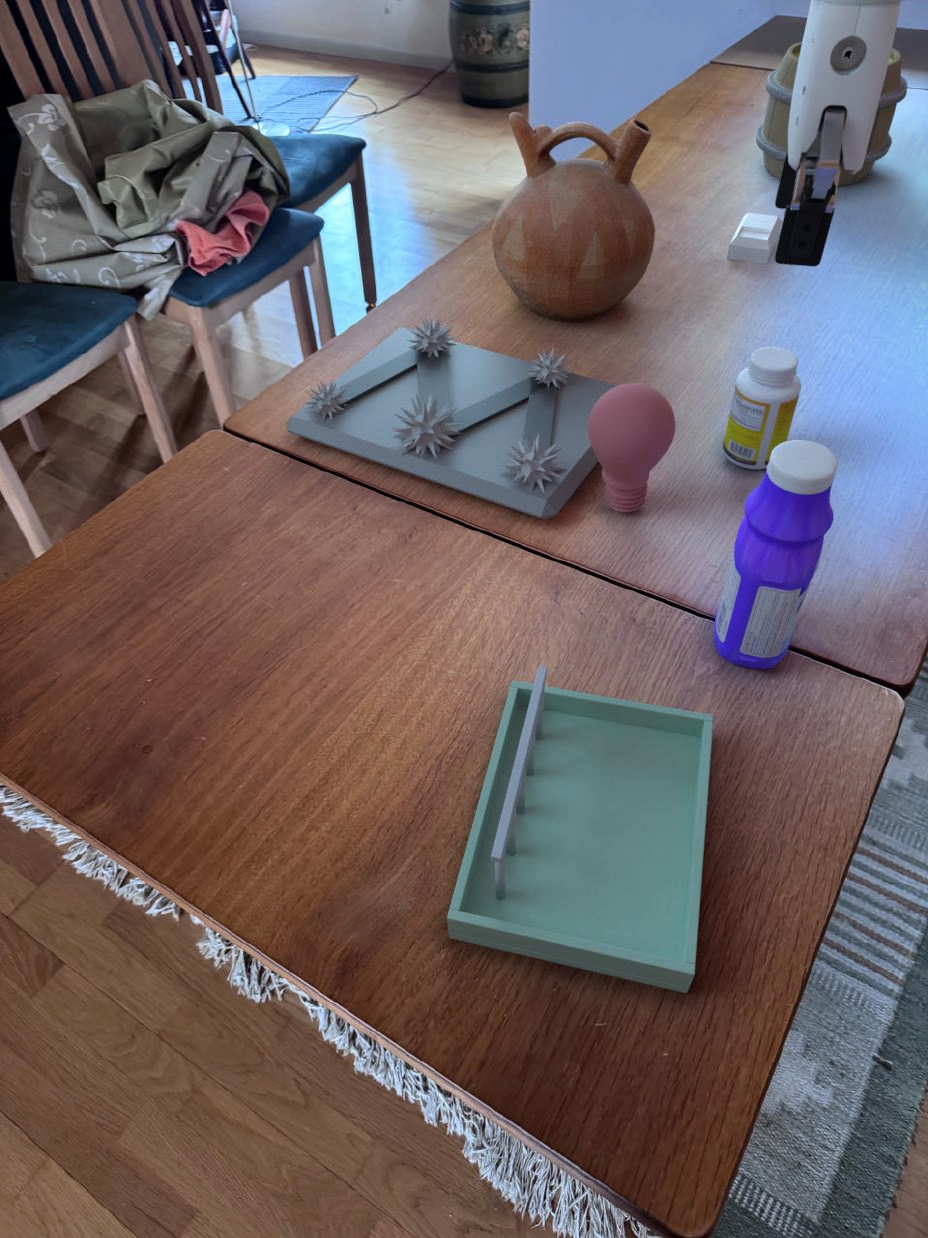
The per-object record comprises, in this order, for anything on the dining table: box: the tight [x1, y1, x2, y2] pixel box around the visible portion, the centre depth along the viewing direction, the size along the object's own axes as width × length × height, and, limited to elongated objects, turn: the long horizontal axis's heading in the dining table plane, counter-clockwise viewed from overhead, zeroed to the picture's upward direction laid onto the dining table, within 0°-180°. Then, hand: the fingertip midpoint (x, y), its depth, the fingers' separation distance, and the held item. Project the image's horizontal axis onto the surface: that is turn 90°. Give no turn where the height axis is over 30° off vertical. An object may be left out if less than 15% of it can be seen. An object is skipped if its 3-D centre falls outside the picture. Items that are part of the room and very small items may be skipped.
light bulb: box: [588, 382, 676, 513], centre depth 74 cm, size 7×7×12 cm
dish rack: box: [446, 664, 715, 994], centre depth 54 cm, size 14×18×7 cm
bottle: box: [713, 439, 839, 670], centre depth 61 cm, size 7×6×17 cm
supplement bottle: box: [722, 346, 802, 470], centre depth 80 cm, size 6×6×10 cm
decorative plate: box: [286, 315, 620, 521], centre depth 86 cm, size 30×22×7 cm
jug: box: [491, 111, 656, 323], centre depth 98 cm, size 18×18×20 cm
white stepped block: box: [726, 212, 783, 266], centre depth 112 cm, size 5×9×3 cm, turn 156°
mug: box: [755, 41, 908, 187], centre depth 122 cm, size 19×25×15 cm
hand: (795, 234), depth 67 cm, fingers open, 9 cm apart
